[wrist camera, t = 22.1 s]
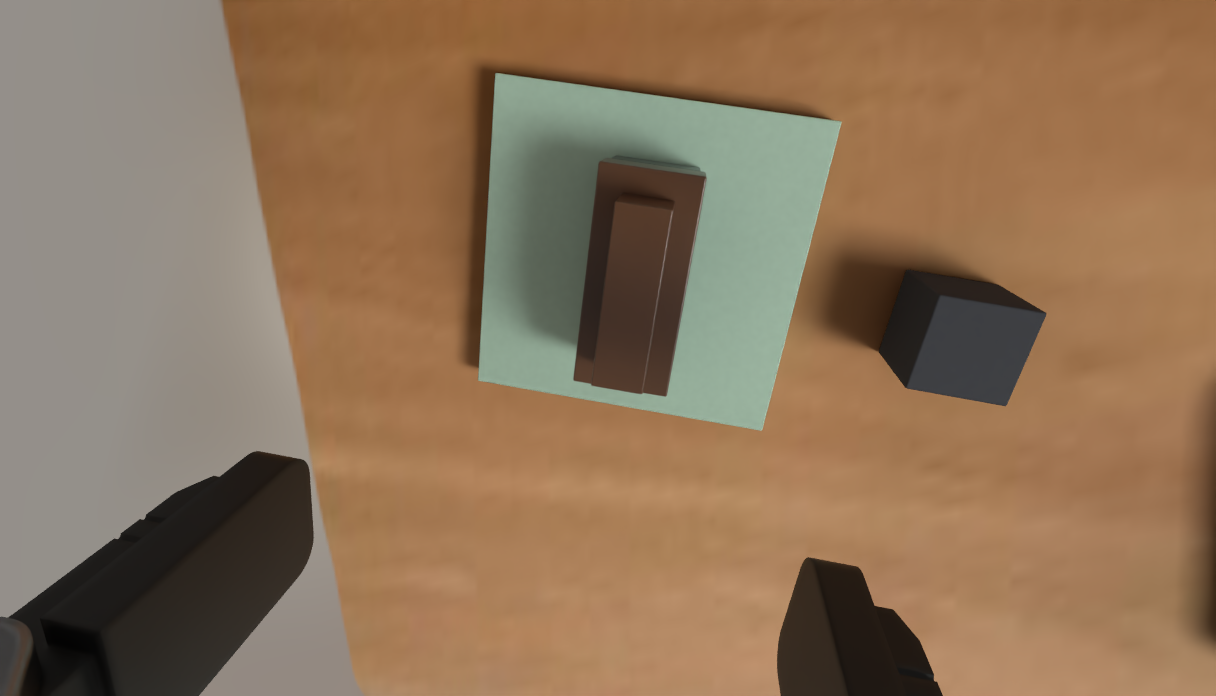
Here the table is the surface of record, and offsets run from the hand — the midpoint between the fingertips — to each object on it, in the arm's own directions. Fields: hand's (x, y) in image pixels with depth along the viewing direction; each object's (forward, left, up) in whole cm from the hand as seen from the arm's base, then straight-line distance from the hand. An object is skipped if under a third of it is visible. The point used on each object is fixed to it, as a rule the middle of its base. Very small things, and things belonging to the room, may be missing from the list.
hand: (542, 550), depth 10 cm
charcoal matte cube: (+12, 0, -18) cm, 21 cm away
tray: (0, 0, -20) cm, 20 cm away
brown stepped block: (0, 0, -19) cm, 19 cm away
